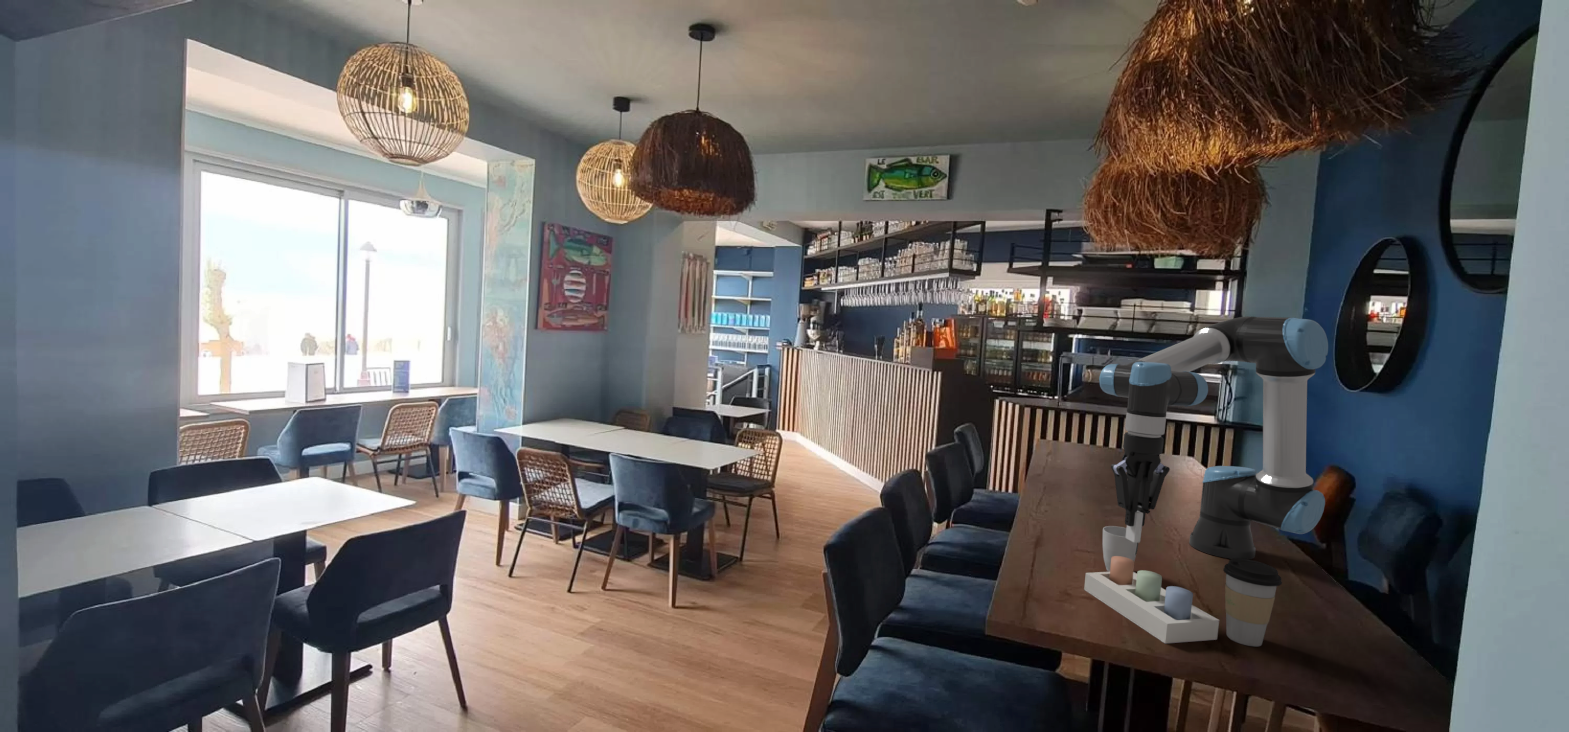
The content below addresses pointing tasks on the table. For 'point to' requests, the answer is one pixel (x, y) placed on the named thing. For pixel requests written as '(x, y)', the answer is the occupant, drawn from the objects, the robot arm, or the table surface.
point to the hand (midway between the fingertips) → (1132, 539)
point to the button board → (1151, 611)
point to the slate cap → (1178, 603)
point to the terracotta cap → (1121, 570)
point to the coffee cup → (1249, 599)
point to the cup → (1117, 545)
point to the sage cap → (1148, 586)
